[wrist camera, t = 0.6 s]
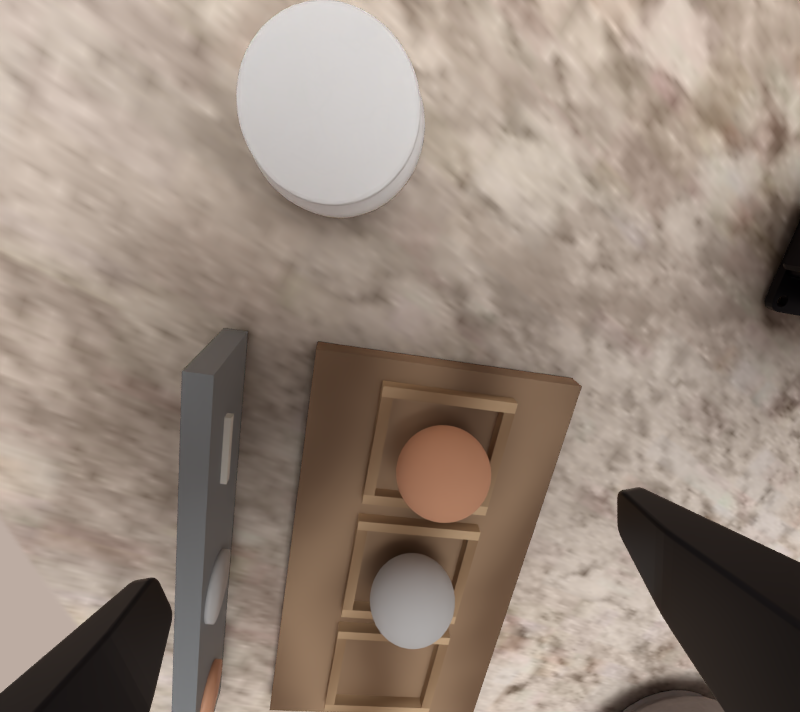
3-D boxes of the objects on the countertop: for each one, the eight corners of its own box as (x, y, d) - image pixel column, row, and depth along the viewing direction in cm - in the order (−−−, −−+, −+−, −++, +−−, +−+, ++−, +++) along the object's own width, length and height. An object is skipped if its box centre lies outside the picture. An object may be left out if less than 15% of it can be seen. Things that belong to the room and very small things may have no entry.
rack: (572, 378, 22) (588, 392, 20) (467, 699, 29) (473, 727, 27) (318, 341, 20) (314, 353, 19) (272, 692, 27) (267, 721, 26)
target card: (255, 332, 20) (223, 376, 15) (225, 690, 27) (197, 795, 22) (223, 328, 20) (181, 371, 15) (202, 689, 27) (169, 795, 22)
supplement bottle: (428, 126, 18) (484, 76, 10) (365, 233, 19) (369, 264, 11) (318, 45, 17) (282, -85, 9) (257, 164, 18) (177, 144, 10)
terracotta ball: (487, 414, 21) (515, 463, 17) (467, 488, 22) (489, 548, 19) (401, 403, 21) (410, 451, 17) (386, 480, 22) (391, 540, 18)
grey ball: (454, 538, 23) (472, 605, 20) (437, 598, 25) (452, 672, 21) (375, 531, 23) (379, 598, 19) (363, 593, 24) (364, 668, 20)
